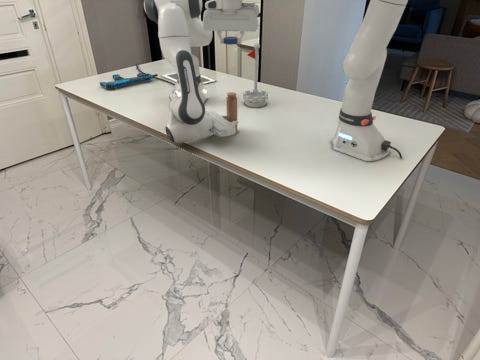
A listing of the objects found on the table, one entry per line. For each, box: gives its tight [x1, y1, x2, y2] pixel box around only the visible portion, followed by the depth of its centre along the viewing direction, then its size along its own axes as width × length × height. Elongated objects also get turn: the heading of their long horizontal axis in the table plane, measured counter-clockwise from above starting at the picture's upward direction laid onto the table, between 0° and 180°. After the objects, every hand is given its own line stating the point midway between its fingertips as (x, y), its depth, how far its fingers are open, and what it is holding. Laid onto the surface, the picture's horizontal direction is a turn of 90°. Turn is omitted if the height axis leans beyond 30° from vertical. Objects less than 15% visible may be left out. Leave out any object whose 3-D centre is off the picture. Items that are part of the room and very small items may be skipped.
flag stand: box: [242, 42, 269, 108], centre depth 170 cm, size 13×13×30 cm
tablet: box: [161, 71, 217, 85], centre depth 215 cm, size 32×20×1 cm, turn 41°
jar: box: [225, 91, 239, 135], centre depth 144 cm, size 5×5×17 cm
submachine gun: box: [99, 72, 159, 90], centre depth 210 cm, size 34×4×25 cm
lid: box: [223, 36, 239, 46], centre depth 128 cm, size 5×5×2 cm
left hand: (233, 119), depth 146 cm, fingers closed on jar, 4 cm apart
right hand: (230, 43), depth 129 cm, fingers closed on lid, 5 cm apart
